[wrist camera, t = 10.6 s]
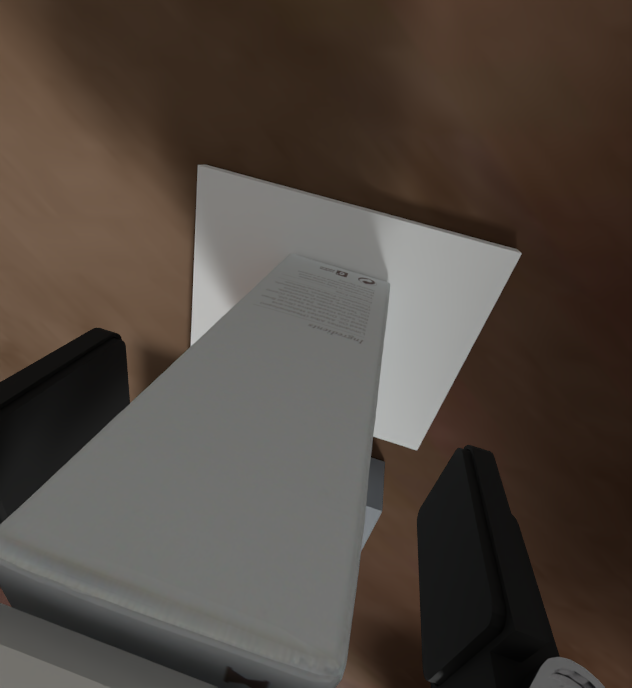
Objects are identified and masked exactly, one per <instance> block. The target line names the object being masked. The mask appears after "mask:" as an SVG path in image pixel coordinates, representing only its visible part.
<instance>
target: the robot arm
mask: <svg viewBox="0 0 632 688" xmlns="http://www.w3.org/2000/svg"><path fill="white" fill-rule="evenodd" d="M129 404H130V398H129V385H128V371H127V358H126V345H125V343H124V341H122V339H121V336H120V335H119V334H117V333H114V332H111V331H108V330H104V329H101V328H94V329H92V330H90V331H88V332H87V333H85V334H83V335H81V336H80V337H78V338H76V339H74V340H73V341H71V342H69V343H68V344H66V345H64V346H62V347H61V348H59V349H57V350H55V351H54V352H52V353H50V354H48V355H47V356H45V357H43V358H42V359H40V360H38V361H36V362H35V363H33V364H31V365H29V366H28V367H26V368H24V369H22V370H21V371H19V372H17V373H16V374H14V375H12V376H10V377H9V378H7V379H5V380H3V381H2V382H0V524H1V523H2V522H3V521H5V520H6V519H7V518H8V517H9V516H10V515H11V514H12V513H13V512H14V511H16V510H17V509H18V508H19V507H20V506H21V505H22V504H23V503H24V502H25V501H27V500H28V499H29V498H30V497H31V496H32V495H33V494H34V493H35V492H36V491H37V490H38V489H39V488H40V487H41V486H43V485H44V484H45V483H46V482H47V481H48V480H49V479H50V478H51V477H52V476H53V475H54V474H55V473H56V472H57V471H58V470H59V469H61V468H62V467H63V466H64V465H65V464H66V463H67V462H68V461H69V460H70V459H71V458H72V457H73V456H74V455H75V454H77V453H78V452H79V451H80V450H81V449H82V448H83V447H84V446H85V445H86V444H87V443H88V442H89V441H90V440H91V439H92V438H94V437H95V436H96V435H97V434H98V433H99V432H100V431H101V430H102V429H103V428H104V427H105V426H106V425H107V424H108V423H109V422H110V421H111V420H112V419H114V418H115V417H116V416H117V415H118V414H119V413H120V412H121V411H122V410H124V409H125V408H126V407H127V406H128V405H129ZM417 536H418V561H419V586H420V611H421V636H422V662H423V673H424V677H425V679H426V680H427V681H429V682H431V688H605V687H604V686H603V685H602V684H601V683H600V681H599V680H598V679H596V678H595V677H594V676H593V675H592V674H591V673H590V672H589V671H587V670H586V669H585V668H584V667H582V666H580V665H579V664H577V663H575V662H573V661H572V660H569V659H565V658H562V657H560V656H559V653H558V650H557V647H556V643H555V640H554V637H553V634H552V631H551V627H550V624H549V621H548V618H547V614H546V611H545V608H544V605H543V602H542V598H541V595H540V592H539V589H538V586H537V582H536V579H535V576H534V573H533V569H532V566H531V563H530V560H529V557H528V553H527V550H526V547H525V544H524V540H523V537H522V534H521V531H520V528H519V525H518V523H517V520H516V518H515V517H514V516H513V515H512V514H511V511H510V508H509V505H508V501H507V498H506V495H505V491H504V488H503V485H502V481H501V478H500V475H499V471H498V468H497V465H496V461H495V458H494V455H493V453H491V452H490V451H487V450H484V449H481V448H477V447H474V446H471V445H467V446H465V447H464V449H462V448H458V449H457V450H456V451H455V453H454V454H453V456H452V457H451V459H450V461H449V462H448V464H447V466H446V467H445V469H444V470H443V472H442V474H441V475H440V477H439V479H438V480H437V482H436V483H435V485H434V487H433V488H432V490H431V492H430V493H429V495H428V496H427V498H426V500H425V501H424V503H423V505H422V506H421V508H420V510H419V513H418V517H417ZM0 688H219V687H216V686H214V685H211V684H208V683H206V682H203V681H201V680H198V679H196V678H193V677H190V676H188V675H185V674H183V673H180V672H178V671H175V670H172V669H170V668H167V667H165V666H162V665H160V664H157V663H154V662H152V661H149V660H147V659H144V658H142V657H139V656H136V655H134V654H131V653H129V652H126V651H124V650H121V649H118V648H116V647H113V646H111V645H108V644H105V643H103V642H100V641H98V640H95V639H93V638H90V637H87V636H85V635H82V634H80V633H77V632H74V631H72V630H69V629H67V628H64V627H62V626H59V625H56V624H54V623H51V622H48V621H46V620H43V619H41V618H38V617H35V616H33V615H30V614H28V613H25V612H22V611H20V610H17V609H14V608H12V607H9V606H7V605H4V604H1V603H0Z"/></svg>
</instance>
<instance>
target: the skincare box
mask: <svg viewBox="0 0 632 688" xmlns="http://www.w3.org/2000/svg"><path fill="white" fill-rule="evenodd" d="M389 294H390V283H388V282H385V281H382V280H379V279H375V278H372V277H368V276H365V275H362V274H358V273H355V272H351V271H348V270H345V269H341V268H338V267H335V266H331V265H328V264H325V263H321V262H318V261H315V260H311V259H308V258H305V257H302V256H299V255H295V254H289V255H288V256H287V257H286V258H285V259H284V260H283V261H282V262H281V263H279V264H278V265H277V266H276V267H275V268H274V269H273V270H272V271H271V272H270V273H269V274H268V275H267V276H266V277H265V278H263V279H262V280H261V281H260V282H259V283H258V284H257V285H256V286H255V287H254V288H253V289H252V290H251V291H250V292H249V293H247V294H246V295H245V296H244V297H243V298H242V299H241V300H240V301H239V302H238V303H237V304H236V305H235V306H233V307H232V308H231V309H230V310H229V311H228V312H227V313H226V314H225V315H224V316H223V317H221V318H220V319H219V320H218V321H217V322H216V323H215V324H214V325H213V326H212V327H211V328H210V329H209V330H208V331H207V332H206V333H205V334H204V335H202V336H201V337H200V338H199V339H198V340H197V341H196V342H195V343H194V344H193V345H192V346H191V347H190V348H189V349H188V350H187V351H185V352H184V353H183V354H182V355H181V356H180V357H179V358H178V359H177V360H176V361H175V362H174V363H173V364H172V365H171V366H170V367H169V368H168V369H167V370H166V371H164V372H163V373H162V374H161V375H160V376H159V377H158V378H157V379H156V380H155V381H153V382H152V383H151V384H150V385H149V386H148V387H147V388H146V389H145V390H144V391H143V392H142V393H141V394H139V395H138V396H137V397H136V398H135V399H134V400H133V401H132V402H131V403H130V404H129V405H128V406H127V407H126V408H125V409H124V410H122V411H121V412H120V413H119V414H118V415H117V416H116V417H115V418H114V419H112V420H111V421H110V422H109V423H108V424H107V425H106V426H105V427H104V428H103V429H102V430H101V431H100V432H99V433H98V434H97V435H96V436H95V437H94V438H92V439H91V440H90V441H89V442H88V443H87V444H86V445H85V446H84V447H83V448H82V449H81V450H80V451H79V452H78V453H77V454H75V455H74V456H73V457H72V458H71V459H70V460H69V461H68V462H67V463H66V464H65V465H64V466H63V467H62V468H61V469H59V470H58V471H57V472H56V473H55V474H54V475H53V476H52V477H51V478H50V479H49V480H48V481H47V482H46V483H45V484H44V485H43V486H41V487H40V488H39V489H38V490H37V491H36V492H35V493H34V494H33V495H32V496H31V497H30V498H29V499H28V500H27V501H25V502H24V503H23V504H22V505H21V506H20V507H19V508H18V509H17V510H16V511H14V512H13V513H12V514H11V515H10V516H9V517H8V518H7V519H6V520H5V521H3V522H2V523H1V524H0V587H1V589H2V590H3V592H4V594H5V596H6V597H7V599H8V601H9V603H10V605H11V606H12V608H14V609H17V610H20V611H22V612H25V613H28V614H30V615H33V616H35V617H38V618H41V619H43V620H46V621H48V622H51V623H54V624H56V625H59V626H62V627H64V628H67V629H69V630H72V631H74V632H77V633H80V634H82V635H85V636H87V637H90V638H93V639H95V640H98V641H100V642H103V643H105V644H108V645H111V646H113V647H116V648H118V649H121V650H124V651H126V652H129V653H131V654H134V655H136V656H139V657H142V658H144V659H147V660H149V661H152V662H154V663H157V664H160V665H162V666H165V667H167V668H170V669H172V670H175V671H178V672H180V673H183V674H185V675H188V676H190V677H193V678H196V679H198V680H201V681H203V682H206V683H208V684H211V685H214V686H216V687H219V688H335V687H336V686H337V685H338V684H339V682H340V681H341V680H342V676H343V673H344V670H345V667H346V662H347V655H348V647H349V640H350V632H351V624H352V617H353V609H354V602H355V595H356V587H357V580H358V573H359V564H360V554H361V546H362V539H363V532H364V523H365V512H366V502H367V490H368V478H369V468H370V460H371V452H372V441H373V433H374V426H375V418H376V408H377V401H378V389H379V381H380V372H381V363H382V354H383V346H384V337H385V330H386V321H387V313H388V303H389Z"/></svg>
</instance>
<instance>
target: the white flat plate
mask: <svg viewBox="0 0 632 688" xmlns="http://www.w3.org/2000/svg"><path fill="white" fill-rule="evenodd" d="M289 254H295V255H299V256H302V257H305V258H308V259H311V260H315V261H318V262H321V263H325V264H328V265H331V266H335V267H338V268H341V269H345V270H348V271H351V272H355V273H358V274H362V275H365V276H368V277H372V278H375V279H379V280H382V281H385V282H388V283H390V294H389V303H388V313H387V321H386V330H385V337H384V346H383V354H382V363H381V372H380V381H379V389H378V401H377V408H376V418H375V426H374V433H373V437H376V438H379V439H383V440H386V441H389V442H392V443H395V444H398V445H401V446H404V447H407V448H411V449H414V450H418V448H419V446H420V444H421V442H422V440H423V438H424V437H425V435H426V433H427V431H428V429H429V427H430V425H431V423H432V422H433V420H434V418H435V416H436V414H437V412H438V410H439V408H440V407H441V405H442V403H443V401H444V399H445V397H446V395H447V393H448V391H449V390H450V388H451V386H452V384H453V382H454V380H455V378H456V376H457V375H458V373H459V371H460V369H461V367H462V365H463V363H464V361H465V360H466V358H467V356H468V354H469V352H470V350H471V348H472V346H473V344H474V343H475V341H476V339H477V337H478V335H479V333H480V331H481V329H482V328H483V326H484V324H485V322H486V320H487V318H488V316H489V314H490V312H491V311H492V309H493V307H494V305H495V303H496V301H497V299H498V297H499V296H500V294H501V292H502V290H503V288H504V286H505V284H506V282H507V281H508V279H509V277H510V275H511V273H512V271H513V269H514V267H515V265H516V264H517V262H518V260H519V258H520V256H521V254H522V253H521V252H520V251H519V250H517V249H515V248H511V247H507V246H503V245H500V244H496V243H492V242H489V241H485V240H481V239H478V238H474V237H470V236H467V235H463V234H459V233H456V232H452V231H448V230H445V229H441V228H437V227H434V226H430V225H426V224H423V223H419V222H415V221H412V220H408V219H404V218H401V217H397V216H393V215H390V214H386V213H382V212H379V211H375V210H371V209H367V208H364V207H360V206H356V205H353V204H349V203H345V202H342V201H338V200H334V199H331V198H327V197H323V196H320V195H316V194H312V193H309V192H305V191H301V190H298V189H294V188H290V187H287V186H283V185H279V184H276V183H272V182H268V181H265V180H261V179H257V178H254V177H250V176H246V175H243V174H239V173H235V172H231V171H228V170H224V169H220V168H217V167H213V166H209V165H206V164H205V165H198V173H197V198H196V223H195V249H194V274H193V299H192V324H191V346H192V345H193V344H194V343H195V342H196V341H197V340H198V339H199V338H200V337H201V336H202V335H204V334H205V333H206V332H207V331H208V330H209V329H210V328H211V327H212V326H213V325H214V324H215V323H216V322H217V321H218V320H219V319H220V318H221V317H223V316H224V315H225V314H226V313H227V312H228V311H229V310H230V309H231V308H232V307H233V306H235V305H236V304H237V303H238V302H239V301H240V300H241V299H242V298H243V297H244V296H245V295H246V294H247V293H249V292H250V291H251V290H252V289H253V288H254V287H255V286H256V285H257V284H258V283H259V282H260V281H261V280H262V279H263V278H265V277H266V276H267V275H268V274H269V273H270V272H271V271H272V270H273V269H274V268H275V267H276V266H277V265H278V264H279V263H281V262H282V261H283V260H284V259H285V258H286V257H287V256H288V255H289Z"/></svg>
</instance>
